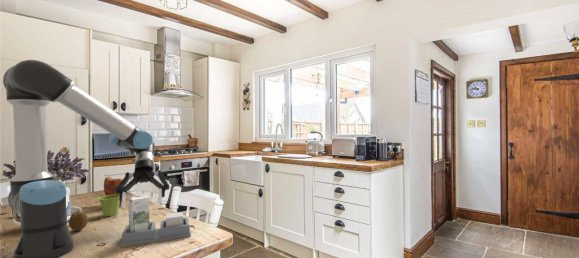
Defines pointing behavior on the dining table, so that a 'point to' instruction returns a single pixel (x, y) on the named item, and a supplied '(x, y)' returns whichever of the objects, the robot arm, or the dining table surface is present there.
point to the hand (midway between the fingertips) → (142, 205)
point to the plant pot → (110, 205)
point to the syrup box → (139, 213)
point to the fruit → (78, 221)
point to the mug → (111, 186)
